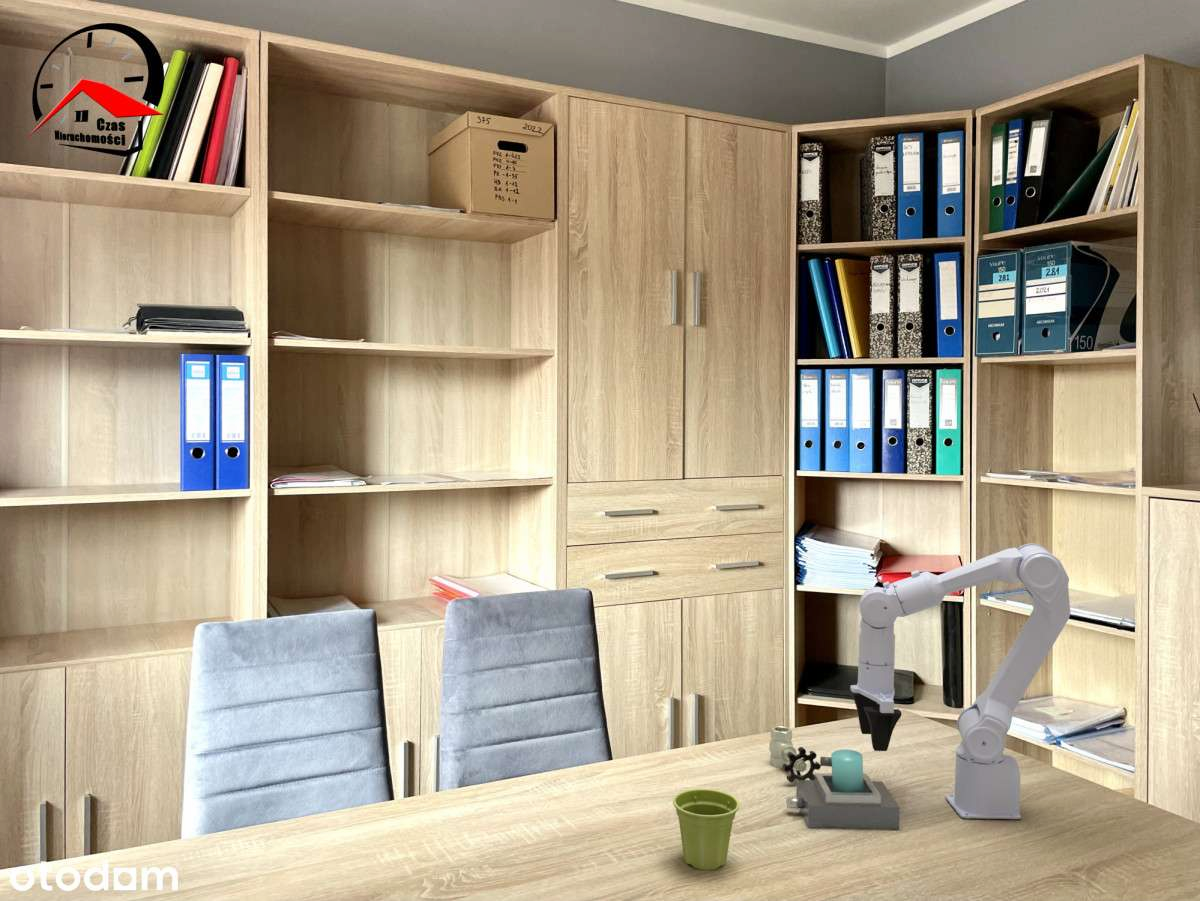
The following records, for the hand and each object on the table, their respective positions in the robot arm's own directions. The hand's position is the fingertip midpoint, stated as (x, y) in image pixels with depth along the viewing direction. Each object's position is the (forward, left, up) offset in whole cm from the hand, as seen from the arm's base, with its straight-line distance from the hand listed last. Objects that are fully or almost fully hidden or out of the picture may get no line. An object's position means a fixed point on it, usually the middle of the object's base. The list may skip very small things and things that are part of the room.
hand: (873, 741), depth 162 cm
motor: (+7, +7, -9) cm, 14 cm away
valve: (+12, -10, -10) cm, 19 cm away
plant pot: (+30, +23, -10) cm, 39 cm away
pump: (+6, +7, -6) cm, 11 cm away
